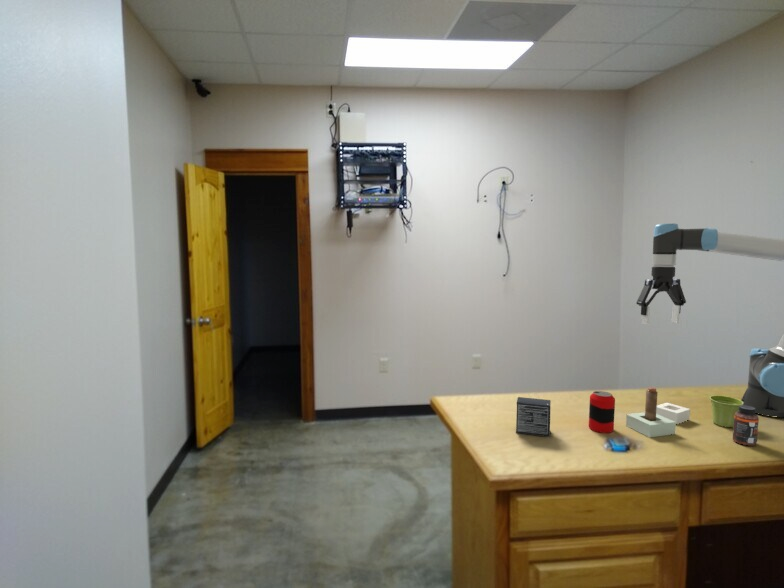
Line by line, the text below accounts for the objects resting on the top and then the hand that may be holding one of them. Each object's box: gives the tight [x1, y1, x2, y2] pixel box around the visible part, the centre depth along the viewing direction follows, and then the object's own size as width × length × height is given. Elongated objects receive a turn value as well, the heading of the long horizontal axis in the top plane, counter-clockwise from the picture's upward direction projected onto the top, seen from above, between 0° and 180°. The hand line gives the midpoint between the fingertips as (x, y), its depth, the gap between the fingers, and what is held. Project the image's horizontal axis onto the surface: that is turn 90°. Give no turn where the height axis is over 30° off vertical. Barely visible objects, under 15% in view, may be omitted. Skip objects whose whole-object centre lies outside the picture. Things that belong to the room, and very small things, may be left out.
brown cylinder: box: [644, 386, 659, 421], centre depth 152 cm, size 3×3×14 cm
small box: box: [515, 396, 552, 438], centre depth 151 cm, size 11×6×10 cm, turn 71°
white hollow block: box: [656, 402, 691, 425], centre depth 163 cm, size 8×8×4 cm
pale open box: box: [625, 411, 677, 438], centre depth 153 cm, size 10×10×4 cm
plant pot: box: [709, 394, 744, 428], centre depth 157 cm, size 9×9×9 cm
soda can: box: [588, 390, 616, 434], centre depth 153 cm, size 8×8×12 cm
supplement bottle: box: [732, 405, 760, 447], centre depth 143 cm, size 6×6×11 cm
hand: (660, 323), depth 172 cm, fingers open, 13 cm apart
